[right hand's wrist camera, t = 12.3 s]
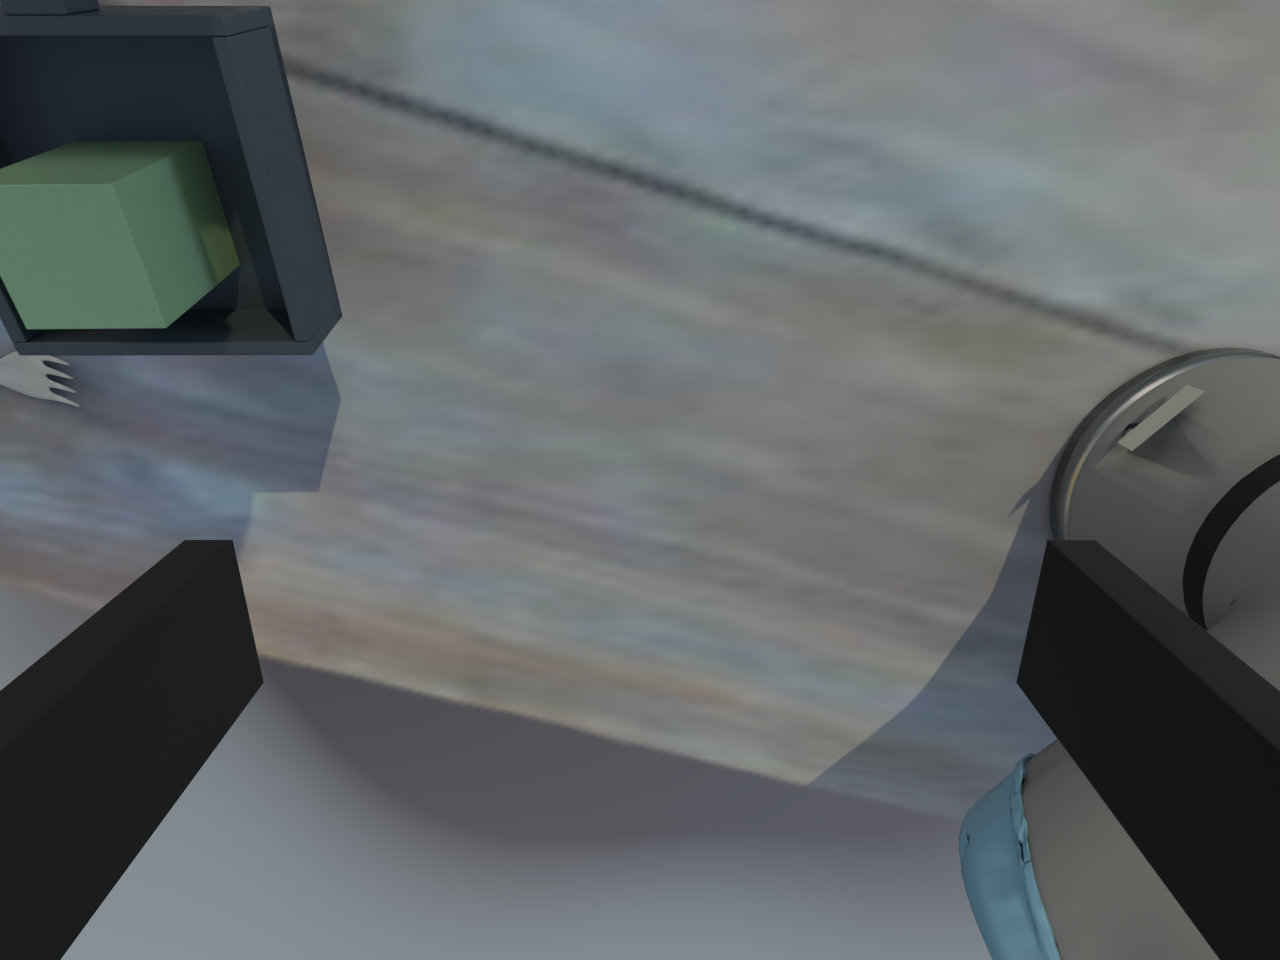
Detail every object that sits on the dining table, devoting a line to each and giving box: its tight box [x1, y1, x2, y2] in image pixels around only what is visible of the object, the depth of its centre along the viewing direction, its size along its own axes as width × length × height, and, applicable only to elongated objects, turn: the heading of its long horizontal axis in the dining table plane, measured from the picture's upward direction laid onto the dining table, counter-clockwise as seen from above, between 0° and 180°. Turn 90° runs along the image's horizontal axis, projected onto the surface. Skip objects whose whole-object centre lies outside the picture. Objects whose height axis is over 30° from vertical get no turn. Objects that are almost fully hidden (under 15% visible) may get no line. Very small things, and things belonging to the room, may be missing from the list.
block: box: [0, 141, 240, 329], centre depth 29 cm, size 5×5×6 cm
